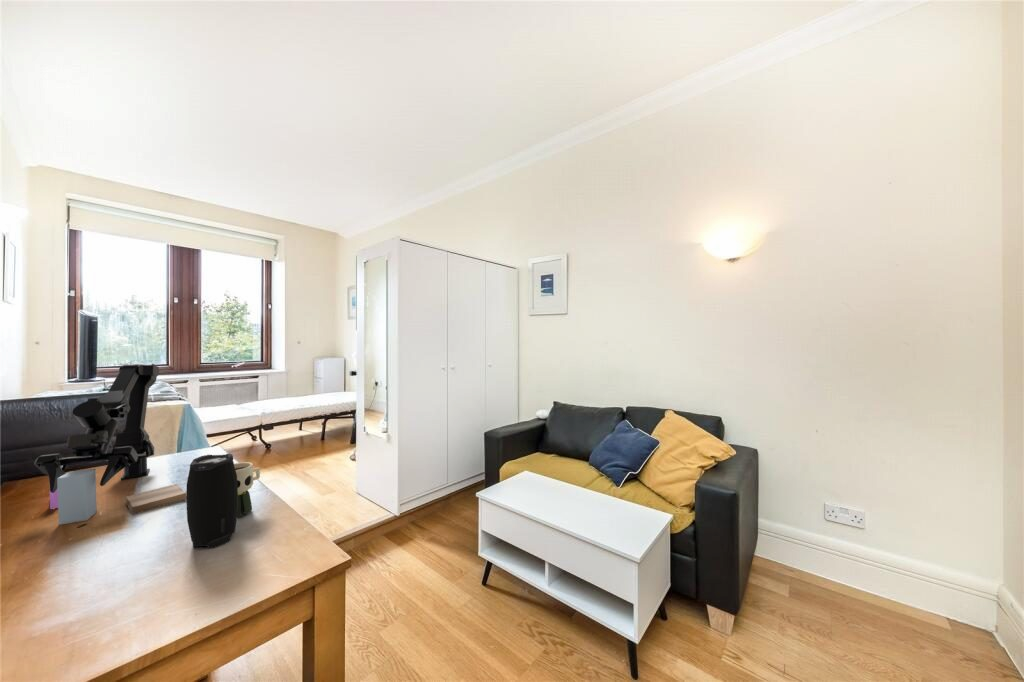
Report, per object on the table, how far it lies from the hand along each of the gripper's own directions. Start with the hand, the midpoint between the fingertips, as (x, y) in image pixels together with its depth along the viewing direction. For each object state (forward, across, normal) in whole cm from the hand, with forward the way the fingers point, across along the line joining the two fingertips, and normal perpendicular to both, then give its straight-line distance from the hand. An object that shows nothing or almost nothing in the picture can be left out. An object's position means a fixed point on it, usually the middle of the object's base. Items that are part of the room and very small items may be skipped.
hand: (77, 488), depth 98 cm
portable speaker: (+27, +35, -15) cm, 47 cm away
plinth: (+3, +15, +8) cm, 17 cm away
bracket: (-7, -10, +18) cm, 22 cm away
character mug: (+18, +38, -6) cm, 42 cm away
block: (+6, 0, +6) cm, 8 cm away
